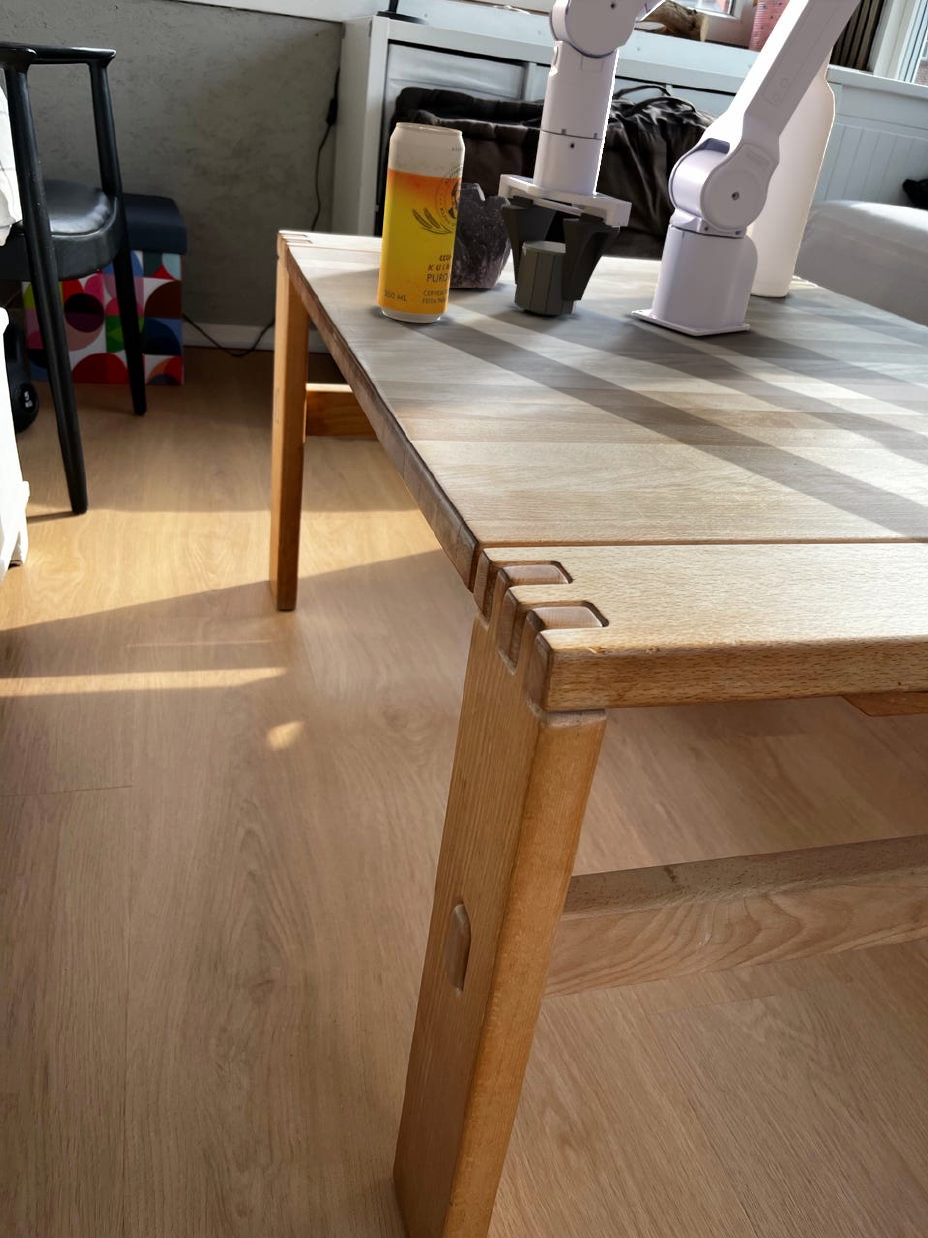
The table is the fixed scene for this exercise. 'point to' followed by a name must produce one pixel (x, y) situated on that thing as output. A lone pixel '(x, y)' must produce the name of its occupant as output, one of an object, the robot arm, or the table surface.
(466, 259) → the crystal cluster
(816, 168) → the bottle
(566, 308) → the dark grey grooved cylinder
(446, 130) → the beer can
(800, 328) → the table surface
